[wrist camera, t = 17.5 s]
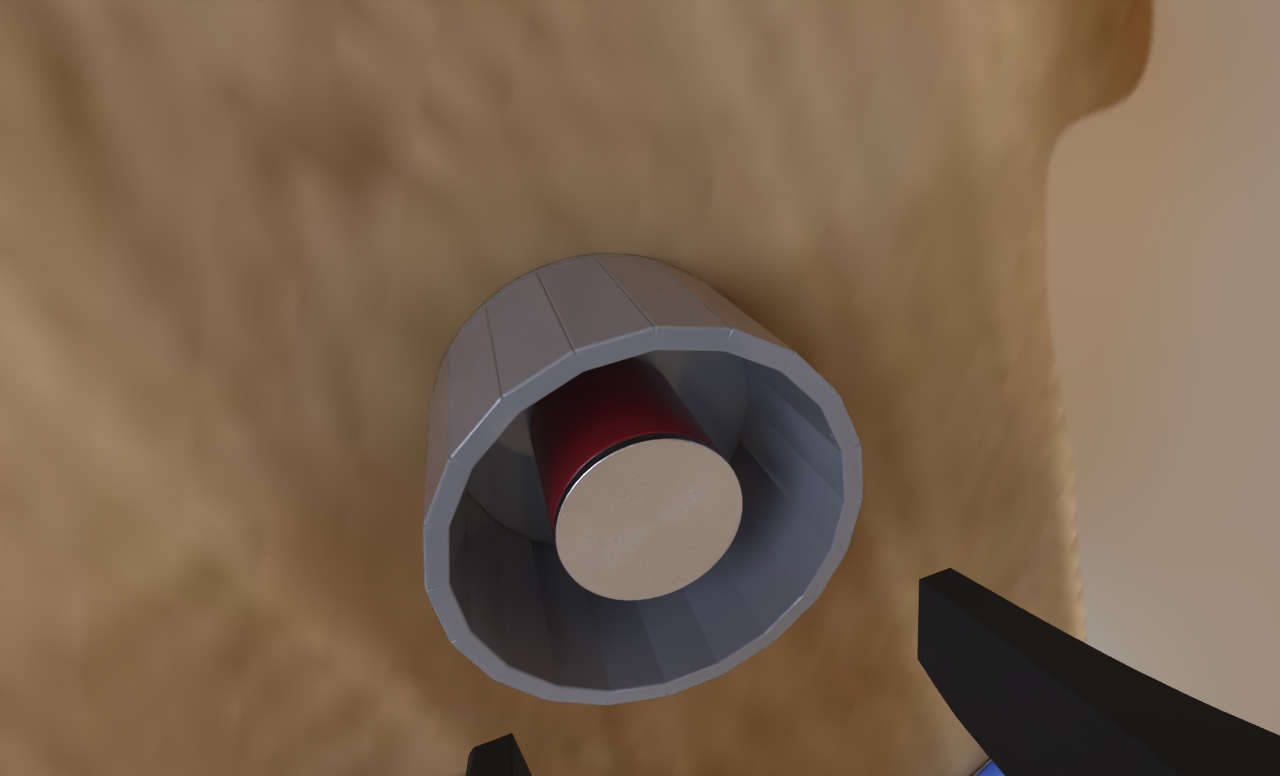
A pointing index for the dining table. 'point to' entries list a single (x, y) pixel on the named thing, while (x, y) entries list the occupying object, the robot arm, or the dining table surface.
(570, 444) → the coffee pod
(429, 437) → the bucket
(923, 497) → the dining table surface
